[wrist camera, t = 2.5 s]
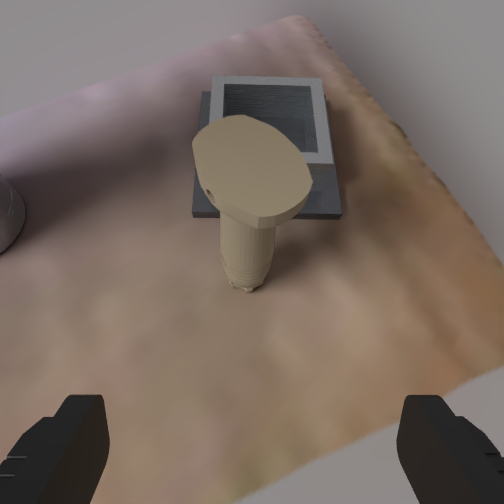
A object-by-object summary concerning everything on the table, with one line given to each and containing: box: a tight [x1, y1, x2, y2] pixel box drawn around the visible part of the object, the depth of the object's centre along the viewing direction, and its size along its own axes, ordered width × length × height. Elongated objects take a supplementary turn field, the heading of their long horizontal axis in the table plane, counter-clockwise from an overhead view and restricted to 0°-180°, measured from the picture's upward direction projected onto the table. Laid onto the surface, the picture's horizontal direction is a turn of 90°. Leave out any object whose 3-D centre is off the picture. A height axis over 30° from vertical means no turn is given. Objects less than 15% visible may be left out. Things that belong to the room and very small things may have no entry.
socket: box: [192, 75, 342, 219], centre depth 34 cm, size 14×16×5 cm
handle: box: [192, 115, 313, 293], centre depth 23 cm, size 5×6×15 cm
